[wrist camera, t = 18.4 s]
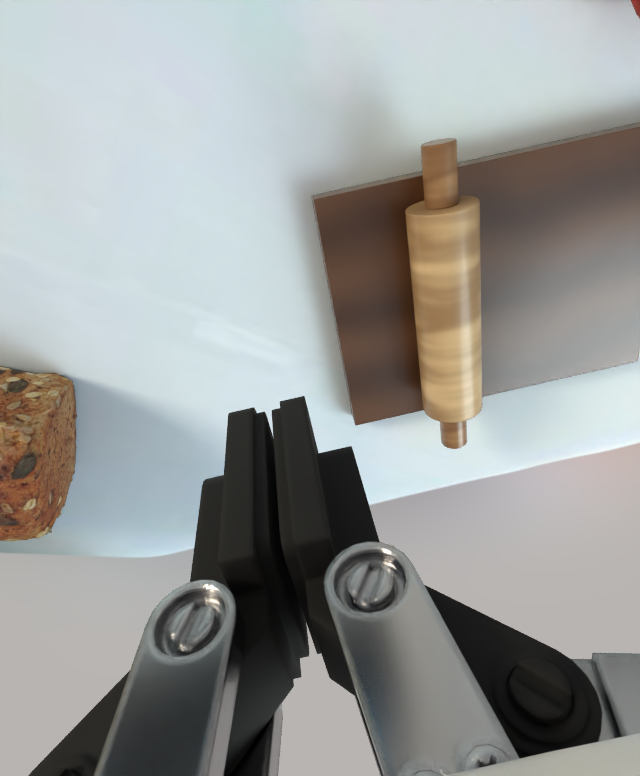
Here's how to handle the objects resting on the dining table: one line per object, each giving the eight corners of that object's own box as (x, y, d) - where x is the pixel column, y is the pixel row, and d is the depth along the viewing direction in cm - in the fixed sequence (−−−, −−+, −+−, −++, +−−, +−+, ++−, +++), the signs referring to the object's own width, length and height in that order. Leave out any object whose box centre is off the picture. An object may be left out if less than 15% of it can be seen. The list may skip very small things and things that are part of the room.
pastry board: (311, 195, 32) (313, 199, 31) (665, 116, 32) (682, 117, 31) (352, 415, 41) (355, 425, 40) (625, 353, 41) (637, 361, 40)
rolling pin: (391, 147, 30) (411, 153, 26) (461, 131, 30) (492, 135, 26) (419, 431, 41) (436, 464, 37) (470, 419, 41) (492, 451, 37)
